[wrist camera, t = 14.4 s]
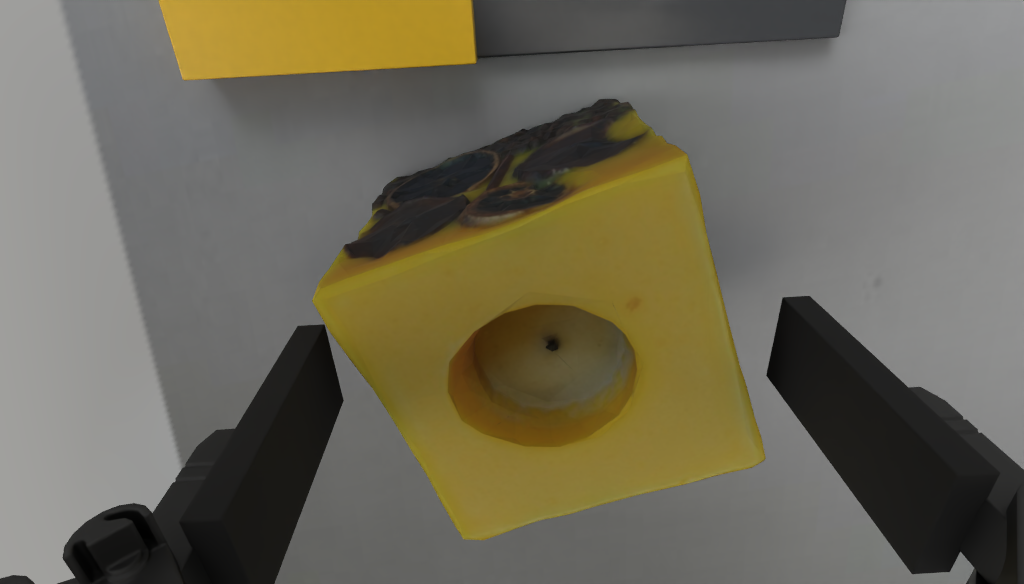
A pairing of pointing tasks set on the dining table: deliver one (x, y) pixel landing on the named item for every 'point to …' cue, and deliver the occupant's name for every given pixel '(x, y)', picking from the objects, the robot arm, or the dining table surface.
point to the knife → (461, 30)
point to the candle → (547, 323)
